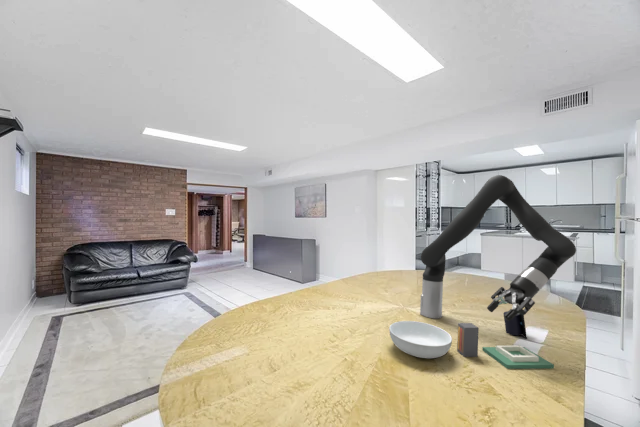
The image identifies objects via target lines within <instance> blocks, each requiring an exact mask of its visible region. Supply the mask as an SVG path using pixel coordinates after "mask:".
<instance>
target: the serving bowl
mask: <svg viewBox="0 0 640 427" xmlns="http://www.w3.org/2000/svg"><path fill="white" fill-rule="evenodd" d="M388 330H389V336H390V339H391V341H392V343H393V344H394V345H395V346H396V347H397V348H398V349H399V350H400V351H402V352H404V353H406V354H408V355H409V356H413V357H417V358H421V359H435V358H436V359H437V358H440V357H442V356H444V355H446V354H447V353H448V351H449V350H450V348H451V346H452V343H453V337H452V336H451V334H450V333H449V332H448V331H446V330H445V329H442V328H441V327H439V326H436V325H433V324H431V323H427V322H422V321H416V320H400V321H396V322H392V324H390V325H389V328H388Z"/></svg>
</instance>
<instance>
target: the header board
mask: <svg viewBox="0 0 640 427" xmlns="http://www.w3.org/2000/svg"><path fill="white" fill-rule="evenodd" d="M482 352H484V353H485V354H486V355H488V356H489V357H491V358H492V359H493V360H494V361H495V362H497V363H499V364H500V365H501V366H502V367H504V368H505V369H507V370H511V369H513V370H515V369H516V370H517V369H521V370H524V369H525V370H526V369H527V370H528V369H529V370H531V369H538V370H540V369H542V370H543V369H545V370H546V369H547V370H548V369H549V370H550V369H551V370H552V369H555V364H554V363H552V362H550V361H549V360H547V359H545V358H544V357H541V355H538V354H537V353H535V352H533V351H531V350H530V349H529V348H527V347H525V346H521V345H495V346H483V347H482Z"/></svg>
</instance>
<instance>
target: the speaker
mask: <svg viewBox="0 0 640 427" xmlns="http://www.w3.org/2000/svg"><path fill="white" fill-rule="evenodd" d="M508 311H509V310H508ZM508 311H504V312H503V316H504V315H505V314H506V313H507V312H508ZM503 319H504V326H505V334H508V335H511V336H520V335H521V336H523V337H524V339H525V340H527V339H528V336H527V329H526V321H525V315H522V314H517V315H516V316H515V317H514V318H513V319H512V320H510V321H507V320H506V319H505V318H504V317H503Z"/></svg>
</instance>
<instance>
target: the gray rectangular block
mask: <svg viewBox="0 0 640 427" xmlns="http://www.w3.org/2000/svg"><path fill="white" fill-rule="evenodd" d="M479 331H480V330H479V326H477V325H476V324H474V323H472V322H458V323H457V343H456V344H457V345H456V351H457V352H458V353H459V354H460V355H461V356H462V357H463V358H464V357H468V358H472V357H474V358H475V357H476V358H478V356H479Z"/></svg>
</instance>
